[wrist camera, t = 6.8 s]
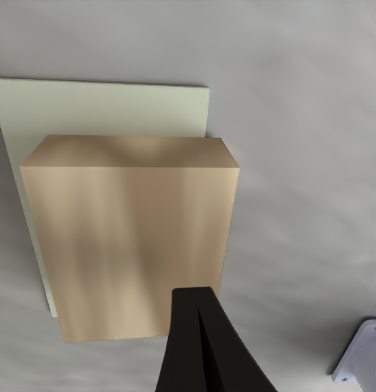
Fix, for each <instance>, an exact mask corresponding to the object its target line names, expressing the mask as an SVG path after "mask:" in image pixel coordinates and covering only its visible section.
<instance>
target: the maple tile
mask: <svg viewBox="0 0 376 392" xmlns="http://www.w3.org/2000/svg"><path fill="white" fill-rule="evenodd" d="M19 167H20V171H21V175H22V179H23V183H24V186H25V190H26V194H27V198H28V202H29V206H30V210H31V214H32V218H33V222H34V226H35V230H36V234H37V238H38V242H39V245H40V249H41V253H42V257H43V261H44V265H45V269H46V273H47V277H48V281H49V285H50V289H51V293H52V297H53V300H54V304H55V308H56V312H57V316H58V320H59V324H60V328H61V332H62V336H63V340H64V343H72V342H86V341H100V340H114V339H128V338H141V337H155V336H168V335H169V330H170V319H171V299H172V290H173V289H175V288H186V287H207V286H210V287H211V288H212V289H213V291H214V293H215V295H216V297H217V299H218V293H219V287H220V281H221V276H222V270H223V264H224V258H225V252H226V246H227V240H228V234H229V228H230V223H231V217H232V211H233V205H234V199H235V193H236V187H237V181H238V175H239V170H240V168H239V166H238V164H237V163H236V161H235V160H234V158H233V157H232V155H231V153H230V152H229V150H228V149H227V147H226V146H225V144H224V143H223V141H222V139H221V138H193V137H146V136H99V135H51V134H48V135H47V136H46V137H45V138H44V140H43V141H42V142H41V143H40V144H39V145H38V146H37V147H36V148H35V150H34V151H33V152H32V153H31V154H30V155H29V156H28V157H27V159H26V160H25V161H24V162H23V163H22V164H21V165H20V166H19Z"/></svg>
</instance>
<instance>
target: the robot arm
mask: <svg viewBox="0 0 376 392" xmlns="http://www.w3.org/2000/svg"><path fill="white" fill-rule="evenodd" d="M331 378H332V380H333V382H334V383H344V382H354V381H358V383H359V385H360V386H361V388H362V390H363V392H376V319H373V320H367V321H365V322H363V323H362V324H361V326H360V328H359V330H358V331H357V333H356V335H355V337H354V338H353V340H352V342H351V344H350V345H349V347H348V349H347V350H346V352H345V354H344V356H343V357H342V359H341V361H340V363H339V364H338V366H337V368H336V369H335V371H334V373H333V375H332V377H331ZM155 392H278V391H277V390H276V389H275V388H274V386H273V385H272V384H271V382H270V381H269V380H268V378H267V377H266V375H265V374H264V373H263V371H262V370H261V368H260V367H259V366H258V364H257V363H256V361H255V360H254V359H253V357H252V356H251V354H250V353H249V351H248V350H247V348H246V347H245V345H244V343H243V342H242V340H241V339H240V337H239V336H238V334H237V332H236V331H235V329H234V327H233V326H232V324H231V322H230V321H229V319H228V317H227V315H226V314H225V312H224V310H223V308H222V307H221V305H220V303H219V301H218V299H217V297H216V295H215V293H214V291H213V289H212V288H211V287H210V286H207V287H186V288H175V289H173V290H172V299H171V319H170V330H169V335H168V341H167V346H166V351H165V355H164V359H163V363H162V367H161V371H160V375H159V379H158V383H157V386H156V390H155Z"/></svg>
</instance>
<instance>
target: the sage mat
mask: <svg viewBox="0 0 376 392" xmlns="http://www.w3.org/2000/svg"><path fill="white" fill-rule="evenodd" d="M209 92H210V88H209V87H192V86H169V85H147V84H124V83H101V82H79V81H56V80H33V79H11V78H0V127H1V130H2V134H3V138H4V141H5V145H6V149H7V152H8V156H9V160H10V163H11V167H12V171H13V175H14V178H15V182H16V186H17V189H18V193H19V197H20V200H21V204H22V208H23V211H24V215H25V219H26V222H27V226H28V230H29V233H30V237H31V241H32V245H33V248H34V252H35V256H36V259H37V263H38V267H39V270H40V274H41V278H42V281H43V285H44V289H45V292H46V296H47V300H48V303H49V307H50V311H51V315H52V317H58V316H57V312H56V308H55V304H54V300H53V297H52V293H51V289H50V285H49V281H48V277H47V273H46V269H45V265H44V261H43V257H42V253H41V249H40V245H39V242H38V238H37V234H36V230H35V226H34V222H33V218H32V214H31V210H30V206H29V202H28V198H27V194H26V190H25V186H24V183H23V179H22V175H21V171H20V167H19V166H20V165H21V164H22V163H23V162H24V161H25V160H26V159H27V157H28V156H29V155H30V154H31V153H32V152H33V151H34V150H35V148H36V147H37V146H38V145H39V144H40V143H41V142H42V141H43V140H44V138H45V137H46V136H47V135H48V134H51V135H99V136H146V137H193V138H205V134H206V124H207V113H208V103H209Z"/></svg>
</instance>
